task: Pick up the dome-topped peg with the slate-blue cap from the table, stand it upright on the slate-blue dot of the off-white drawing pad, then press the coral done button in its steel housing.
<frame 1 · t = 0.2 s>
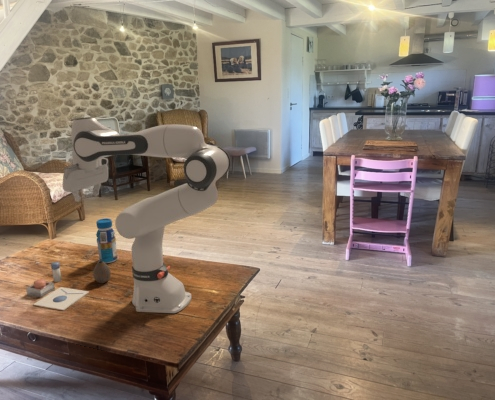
hand: (87, 197, 146), 39 cm above the table, tool pointing down, fingers open, 8 cm apart
drawing pad: (62, 298, 151), on the table
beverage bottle: (108, 260, 185), on the table
button housing: (41, 292, 156), on the table
done button: (40, 285, 155), point 3 cm above the table, slide at 0.0 cm
vase: (103, 281, 165), on the table
dome-topped peg: (57, 280, 166), on the table
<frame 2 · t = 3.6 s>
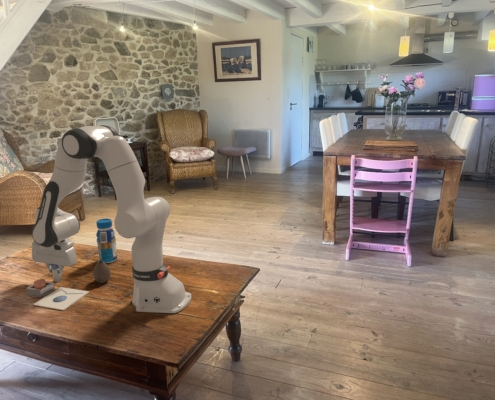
hand: (56, 272, 165), 4 cm above the table, tool pointing down, fingers closed on dome-topped peg, 3 cm apart
dome-topped peg: (57, 280, 166), on the table, touching gripper
everything else where it was.
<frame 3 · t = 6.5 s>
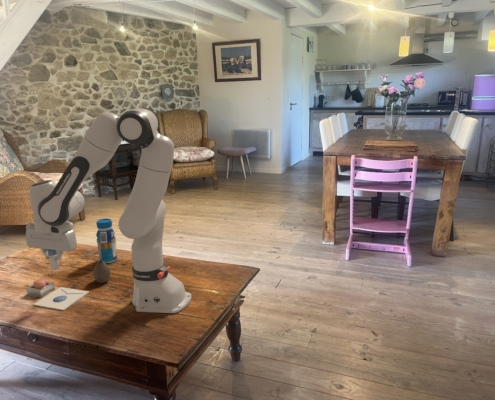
hand: (53, 259, 145), 17 cm above the table, tool pointing down, fingers closed on dome-topped peg, 3 cm apart
dome-topped peg: (55, 268, 146), point 13 cm above the table, touching gripper
everything else where it was.
when the fingers open (5 cm above the table, at t = 9.3 s): dome-topped peg stays where it is, resting on drawing pad.
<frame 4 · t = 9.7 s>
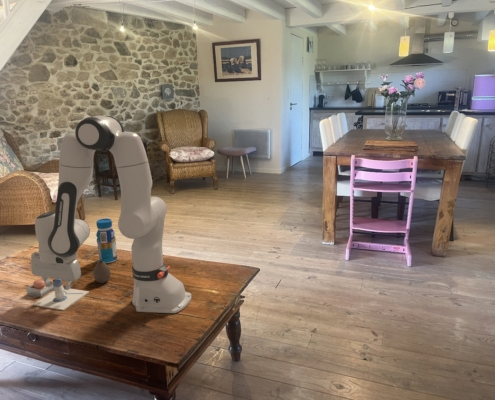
hand: (58, 287, 148), 5 cm above the table, tool pointing down, fingers open, 7 cm apart
dome-topped peg: (60, 298, 150), point 1 cm above the table, touching drawing pad
everything else where it was.
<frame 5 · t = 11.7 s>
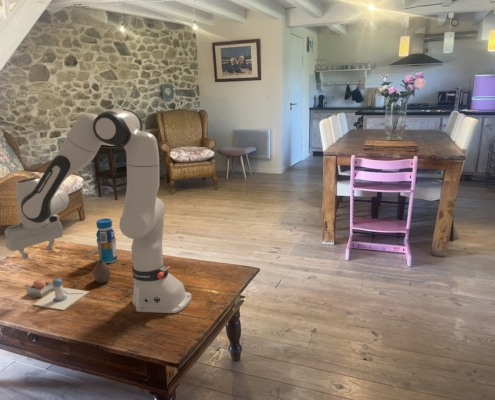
hand: (37, 254, 150), 17 cm above the table, tool pointing down, fingers open, 8 cm apart
nothing on the table moved.
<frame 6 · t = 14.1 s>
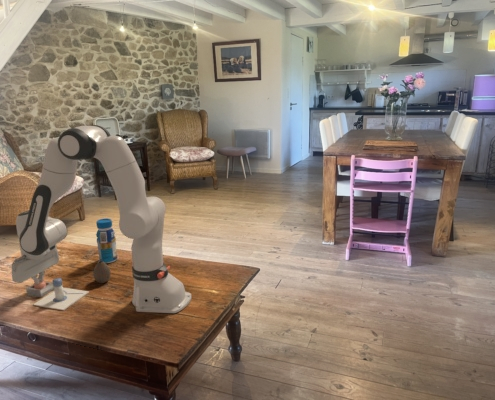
hand: (39, 282, 155), 4 cm above the table, tool pointing down, fingers closed, pressing on done button
done button: (40, 286, 155), point 2 cm above the table, slide at 0.6 cm, touching gripper
everything else where it was.
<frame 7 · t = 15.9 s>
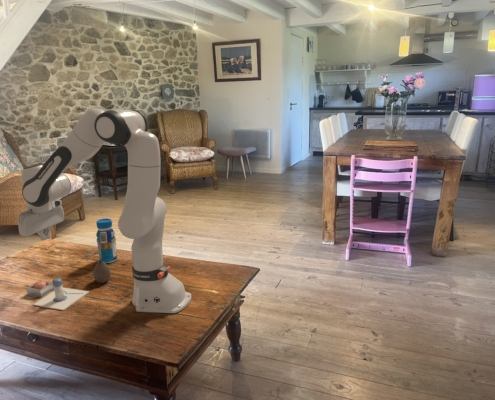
hand: (45, 239, 156), 21 cm above the table, tool pointing down, fingers closed
done button: (40, 287, 155), point 2 cm above the table, slide at 0.7 cm
everything else where it was.
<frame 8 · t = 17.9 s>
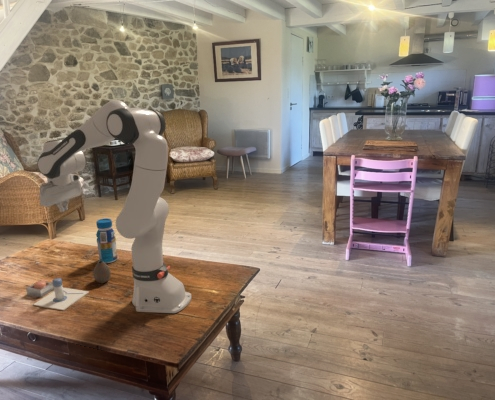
hand: (63, 211, 164), 29 cm above the table, tool pointing down, fingers closed
nothing on the table moved.
at the end: dome-topped peg 0.1 cm from the target spot on the drawing pad, point 0.5 cm above the drawing pad's base; dome-topped peg tilted 0°; done button slide at 0.7 cm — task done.
